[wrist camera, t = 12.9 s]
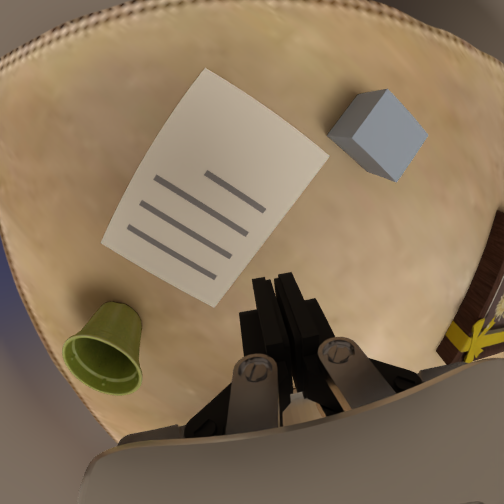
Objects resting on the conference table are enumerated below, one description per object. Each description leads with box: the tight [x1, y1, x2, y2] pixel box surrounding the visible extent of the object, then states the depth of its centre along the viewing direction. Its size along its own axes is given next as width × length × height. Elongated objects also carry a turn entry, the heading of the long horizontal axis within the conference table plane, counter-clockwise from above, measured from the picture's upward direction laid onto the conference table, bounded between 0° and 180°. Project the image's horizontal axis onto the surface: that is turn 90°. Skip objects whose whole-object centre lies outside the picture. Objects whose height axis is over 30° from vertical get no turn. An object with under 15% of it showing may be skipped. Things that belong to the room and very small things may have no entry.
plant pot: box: [62, 302, 142, 396], centre depth 28 cm, size 9×9×9 cm
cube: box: [327, 89, 428, 182], centre depth 23 cm, size 6×6×6 cm
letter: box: [101, 68, 330, 308], centre depth 27 cm, size 15×21×1 cm
